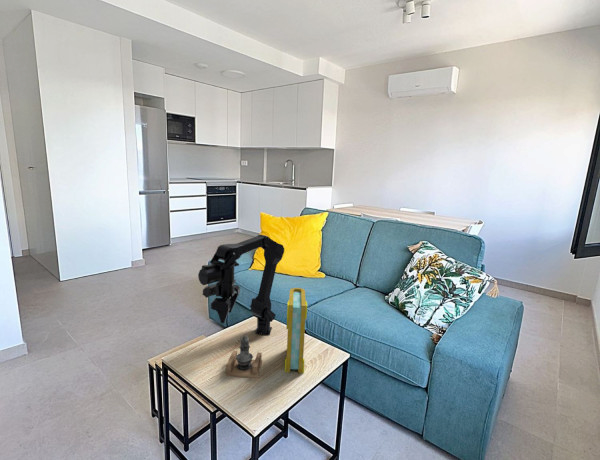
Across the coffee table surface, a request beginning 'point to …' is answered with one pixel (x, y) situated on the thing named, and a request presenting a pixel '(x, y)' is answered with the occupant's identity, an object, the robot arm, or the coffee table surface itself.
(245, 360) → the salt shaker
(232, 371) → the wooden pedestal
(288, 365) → the book
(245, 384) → the coffee table surface
